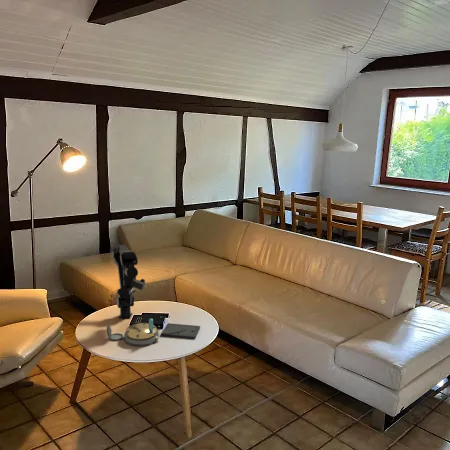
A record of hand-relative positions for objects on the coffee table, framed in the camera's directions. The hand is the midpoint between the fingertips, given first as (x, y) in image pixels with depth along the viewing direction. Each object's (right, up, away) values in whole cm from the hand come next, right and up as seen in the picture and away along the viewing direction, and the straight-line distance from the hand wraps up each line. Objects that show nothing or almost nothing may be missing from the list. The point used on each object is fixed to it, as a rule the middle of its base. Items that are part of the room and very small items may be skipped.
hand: (129, 304), depth 237 cm
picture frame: (+27, -15, -2) cm, 31 cm away
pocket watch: (-6, -15, -11) cm, 19 cm away
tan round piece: (+8, -13, -11) cm, 19 cm away
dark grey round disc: (+8, -15, -11) cm, 20 cm away
